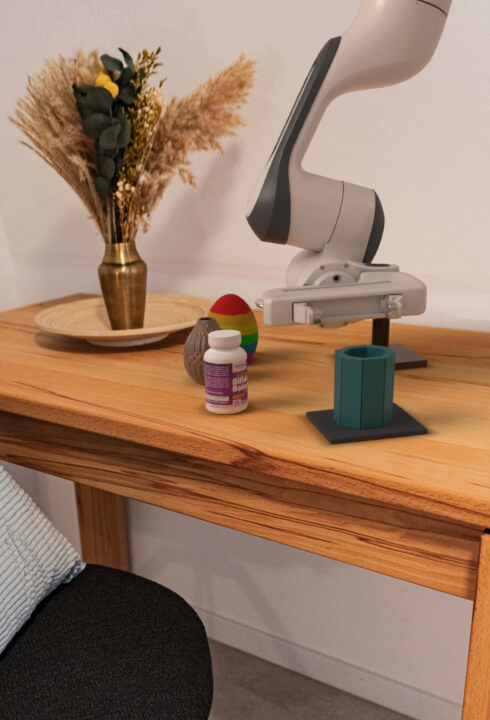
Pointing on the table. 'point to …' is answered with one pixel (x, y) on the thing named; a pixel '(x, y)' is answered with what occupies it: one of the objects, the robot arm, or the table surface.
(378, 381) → the teal octagonal cup
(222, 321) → the decorative egg
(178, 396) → the table surface
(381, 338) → the post
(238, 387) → the pill bottle
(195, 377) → the vase
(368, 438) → the felt pad
